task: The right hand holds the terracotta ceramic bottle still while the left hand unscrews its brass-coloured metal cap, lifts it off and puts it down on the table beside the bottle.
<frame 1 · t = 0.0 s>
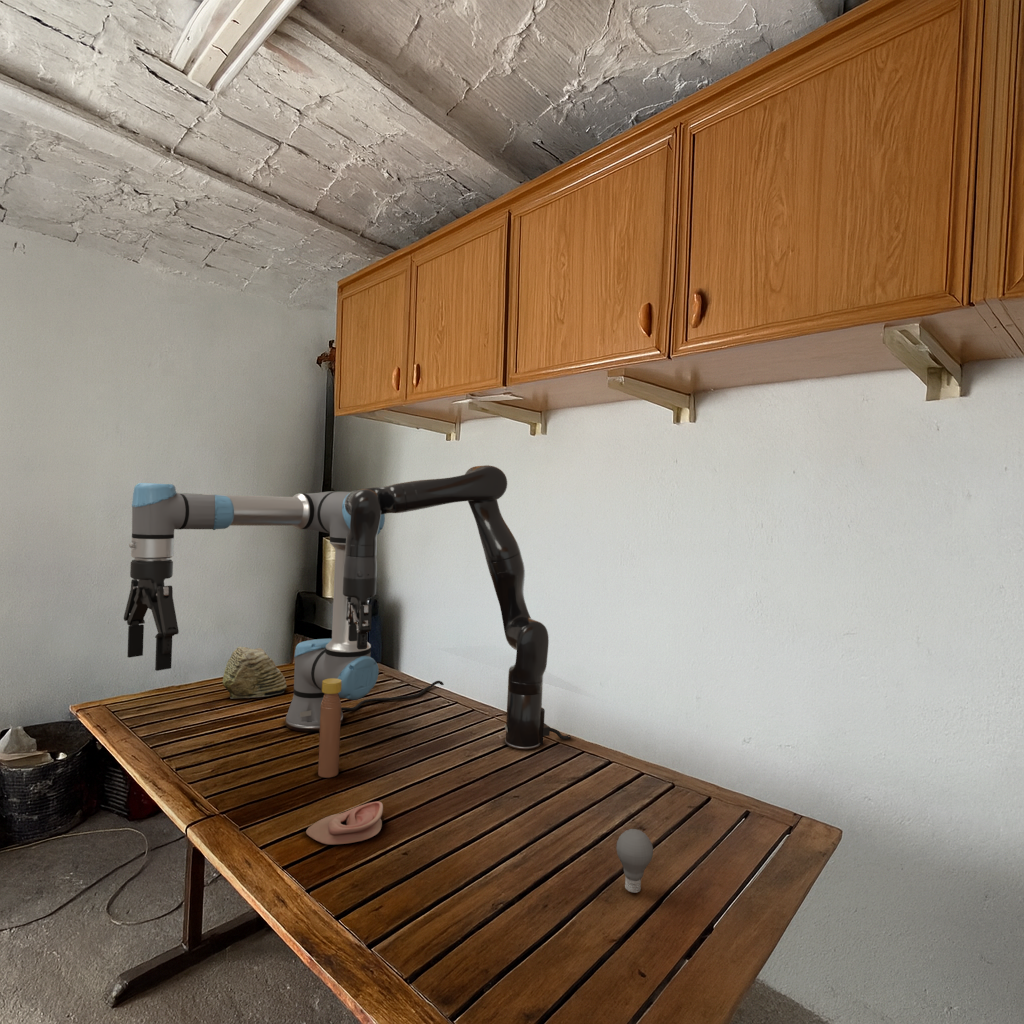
left hand: (148, 662, 129), 28 cm above the table, tool pointing down, fingers open, 13 cm apart
right hand: (357, 644, 147), 29 cm above the table, tool pointing down, fingers open, 8 cm apart
bottle: (328, 773, 145), on the table
cap: (331, 682, 145), point 21 cm above the table, screwed on, not yet turned
light bulb: (632, 891, 106), on the table
anatomical model: (344, 830, 121), on the table
fossil: (254, 694, 198), on the table
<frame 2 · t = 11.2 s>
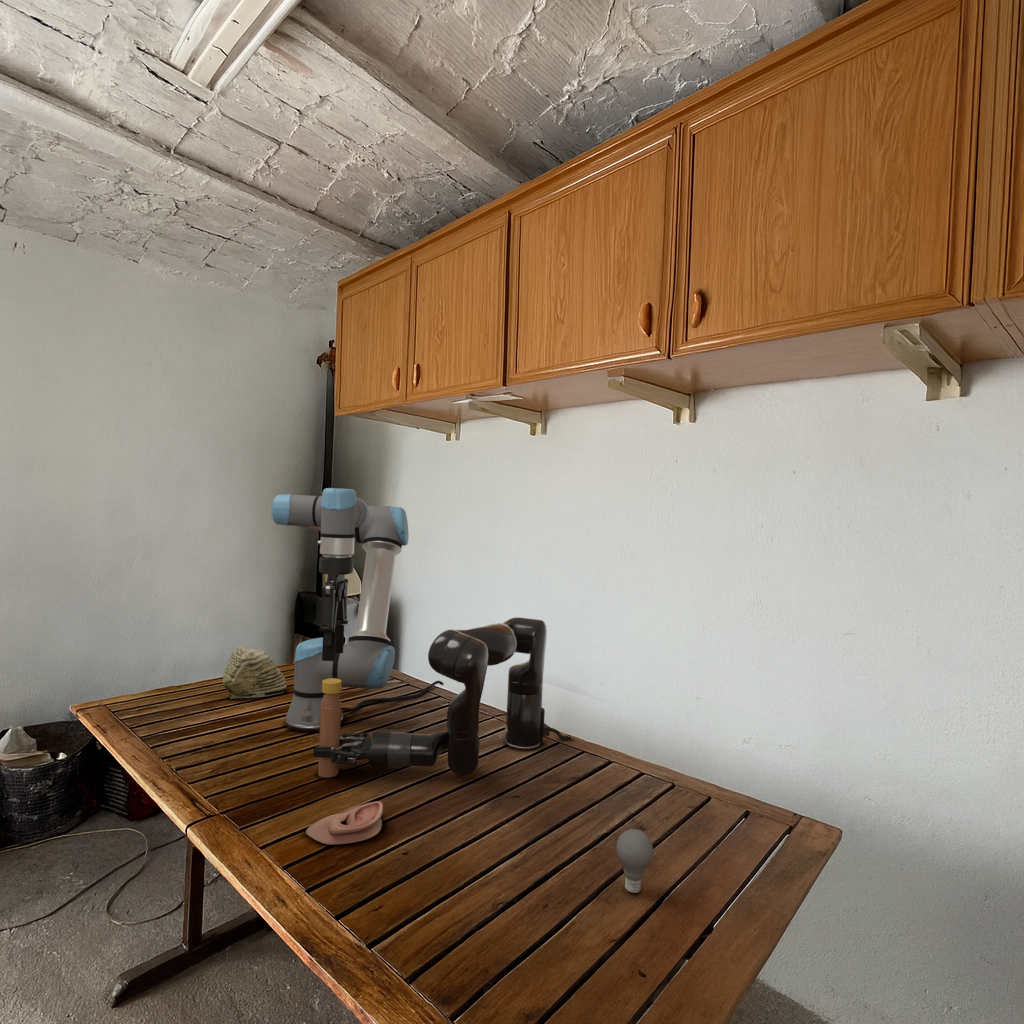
left hand: (332, 656, 145), 27 cm above the table, tool pointing down, fingers open, 6 cm apart
right hand: (317, 747, 145), 6 cm above the table, tool horizontal, fingers closed on bottle, 4 cm apart
bottle: (328, 773, 145), on the table, touching right hand
everything else where it was.
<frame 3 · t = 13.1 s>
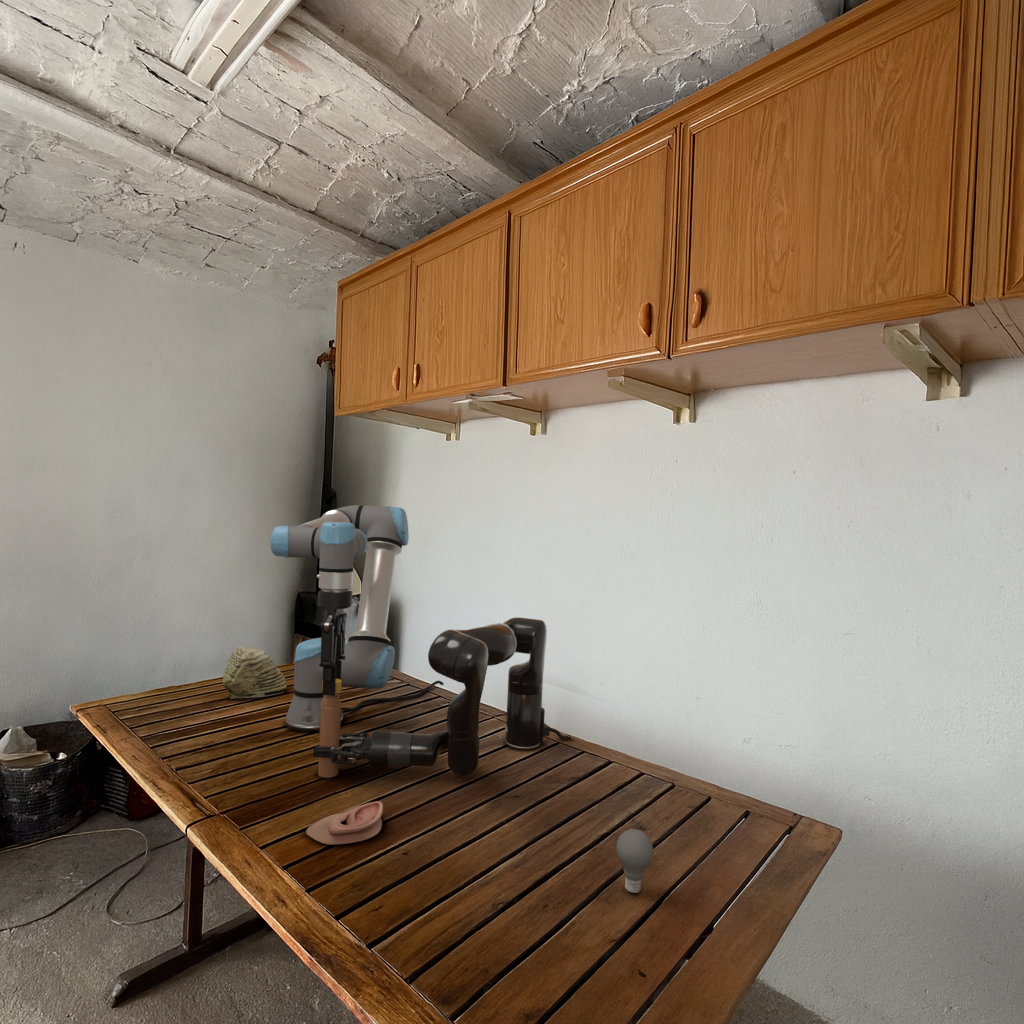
left hand: (331, 691, 145), 19 cm above the table, tool pointing down, fingers closed on cap, 4 cm apart
right hand: (317, 747, 145), 6 cm above the table, tool horizontal, fingers closed on bottle, 4 cm apart
bottle: (328, 773, 145), on the table, touching right hand
cap: (331, 682, 145), point 21 cm above the table, screwed on, not yet turned, touching left hand
everything else where it was.
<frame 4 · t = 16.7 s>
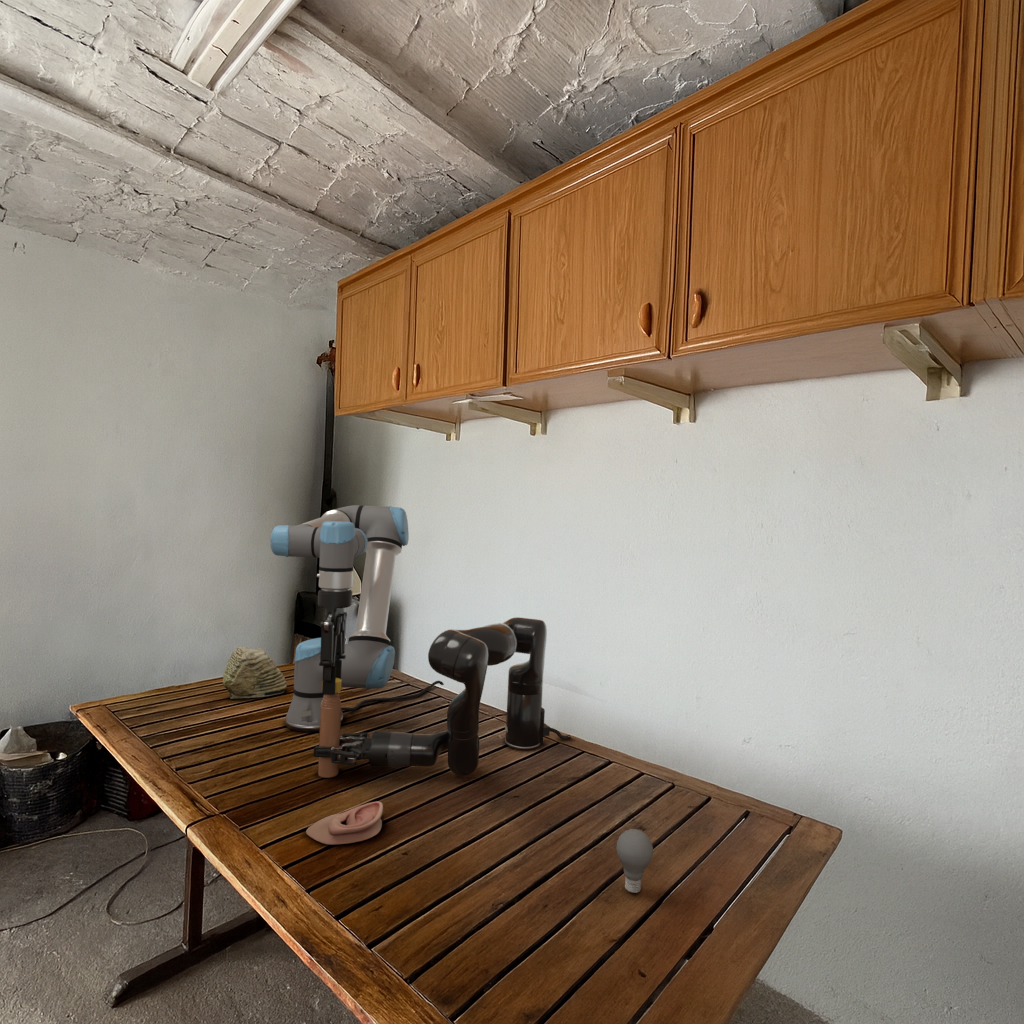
left hand: (331, 690, 145), 19 cm above the table, tool pointing down, fingers closed on cap, 4 cm apart
right hand: (317, 747, 145), 6 cm above the table, tool horizontal, fingers closed on bottle, 4 cm apart
bottle: (328, 773, 145), on the table, touching right hand
cap: (331, 681, 145), point 21 cm above the table, turned 135° so far, risen 0.1 cm, still on its thread, touching left hand
everything else where it was.
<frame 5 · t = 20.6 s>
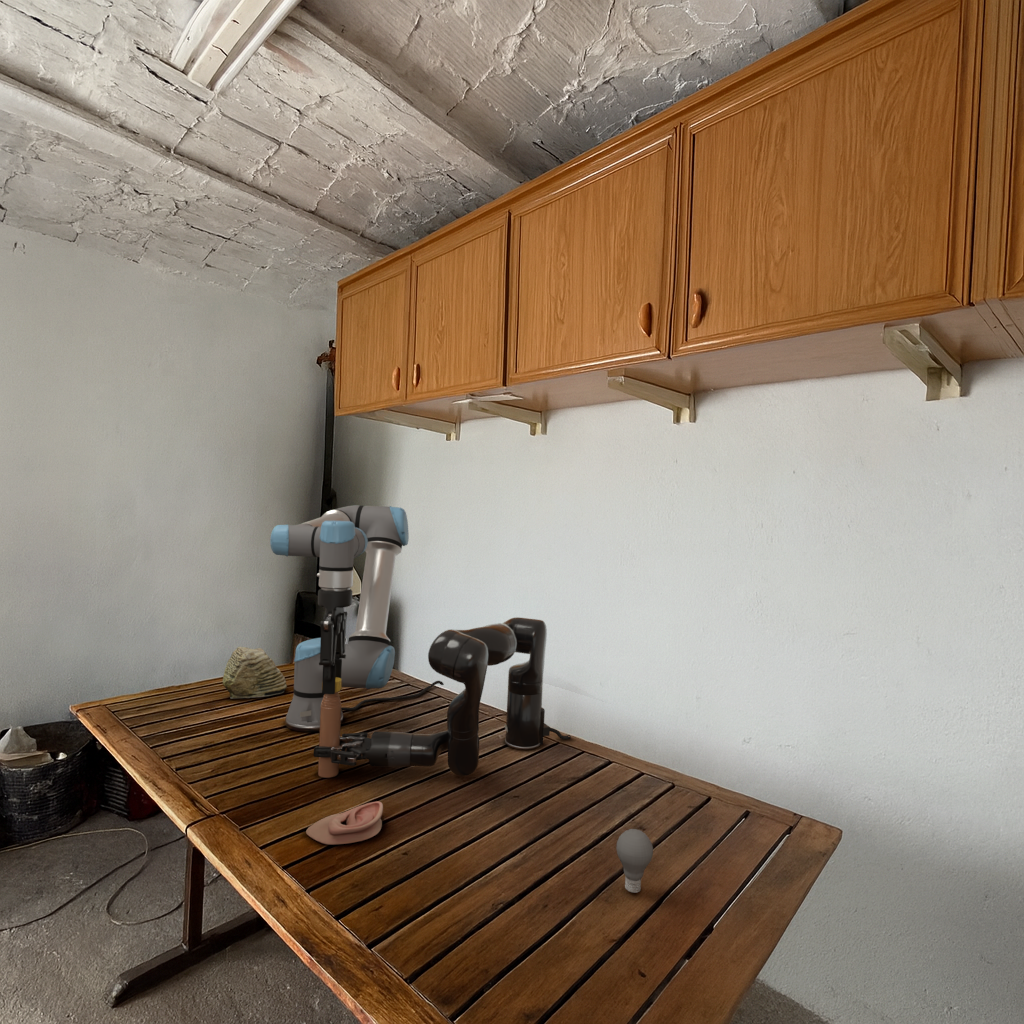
left hand: (331, 690, 145), 19 cm above the table, tool pointing down, fingers closed on cap, 4 cm apart
right hand: (317, 747, 145), 6 cm above the table, tool horizontal, fingers closed on bottle, 4 cm apart
bottle: (328, 773, 145), on the table, touching right hand
cap: (331, 680, 145), point 21 cm above the table, turned 270° so far, risen 0.3 cm, still on its thread, touching left hand
everything else where it was.
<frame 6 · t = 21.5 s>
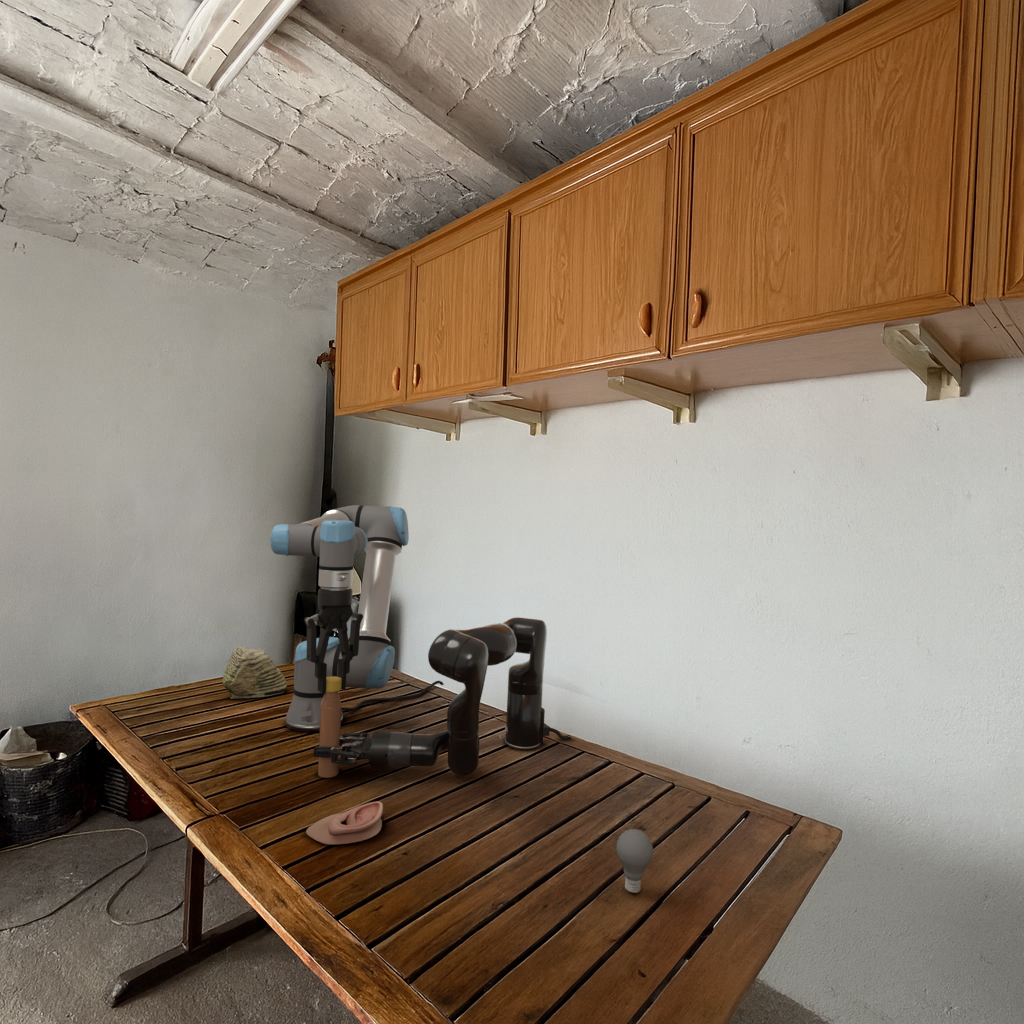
left hand: (331, 689, 145), 19 cm above the table, tool pointing down, fingers closed on cap, 4 cm apart
right hand: (317, 747, 145), 6 cm above the table, tool horizontal, fingers closed on bottle, 4 cm apart
bottle: (328, 773, 145), on the table, touching right hand
cap: (332, 680, 145), point 21 cm above the table, off its thread, touching left hand
everything else where it was.
when the left hand's fingers open (1 cm above the table, at t = 27.1 s): cap drops 1 cm, point 2 cm above the table.
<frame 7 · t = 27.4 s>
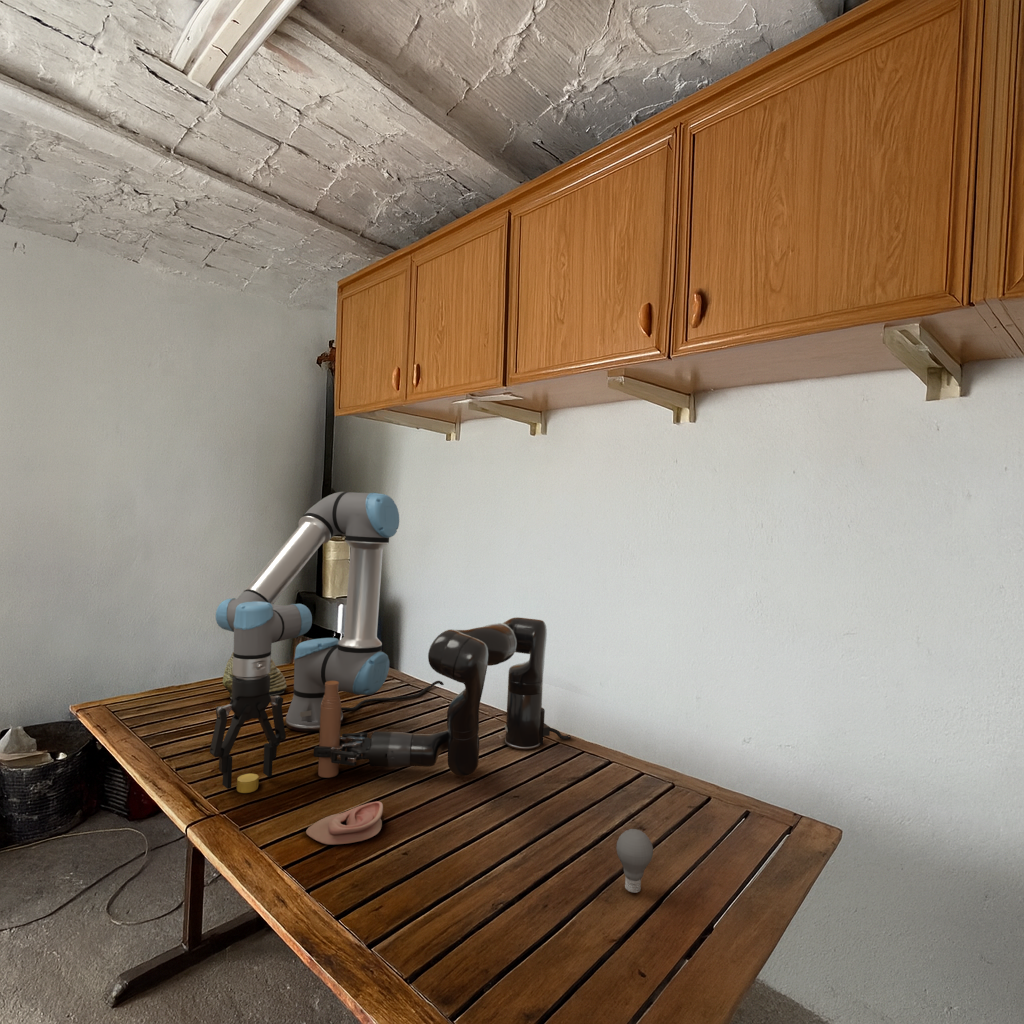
left hand: (247, 780, 136), 2 cm above the table, tool pointing down, fingers open, 8 cm apart
right hand: (317, 747, 145), 6 cm above the table, tool horizontal, fingers closed on bottle, 4 cm apart
bottle: (328, 773, 145), on the table, touching right hand
cap: (247, 779, 136), point 2 cm above the table, off its thread
everything else where it was.
when the right hand's fingers open (6 cm above the table, at t = 28.4 s): bottle stays where it is, on the table.
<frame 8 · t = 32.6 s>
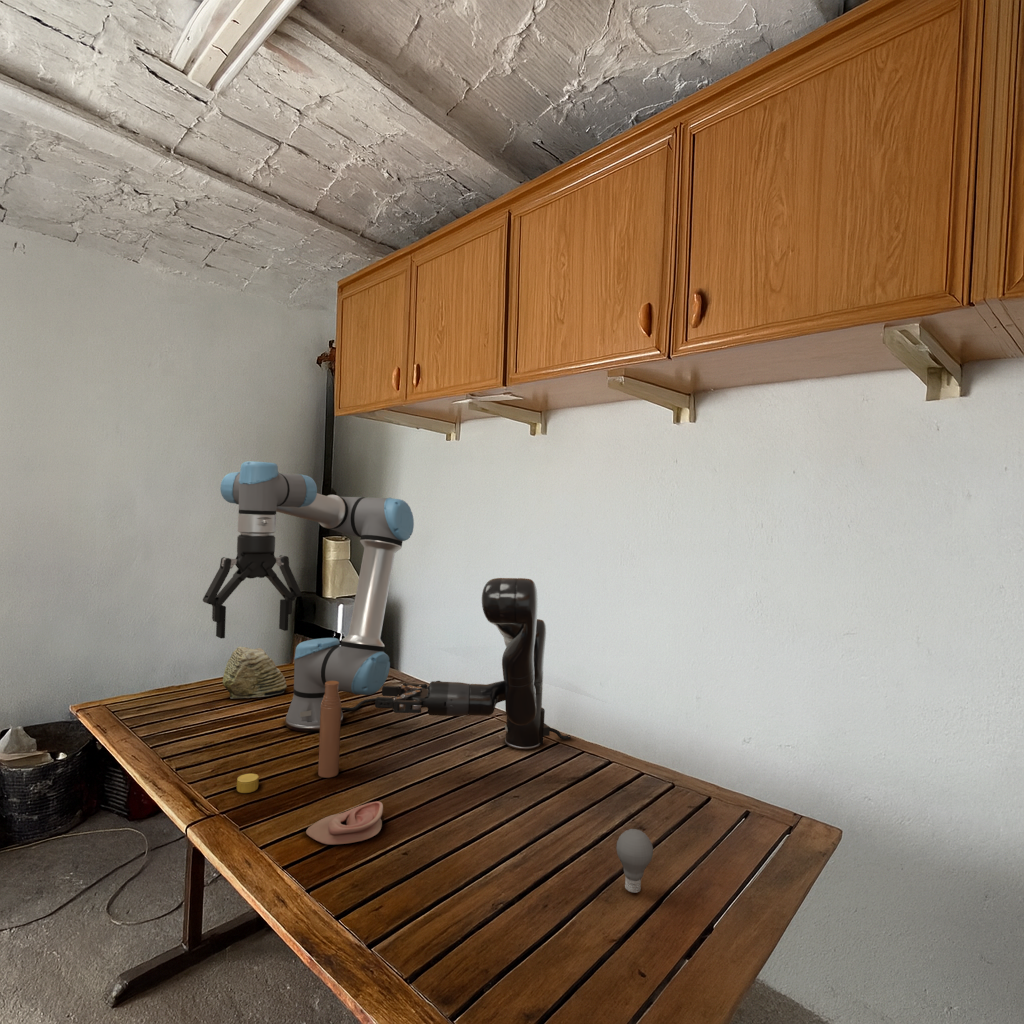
left hand: (253, 633, 135), 33 cm above the table, tool pointing down, fingers open, 13 cm apart
right hand: (378, 696, 145), 18 cm above the table, tool horizontal, fingers open, 8 cm apart
bottle: (328, 773, 145), on the table
everything else where it was.
at the end: cap came off its thread; cap point 2.1 cm above the table; the left hand is holding nothing; the right hand is holding nothing; bottle tilted 0°; bottle moved 0.0 cm from its start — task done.
